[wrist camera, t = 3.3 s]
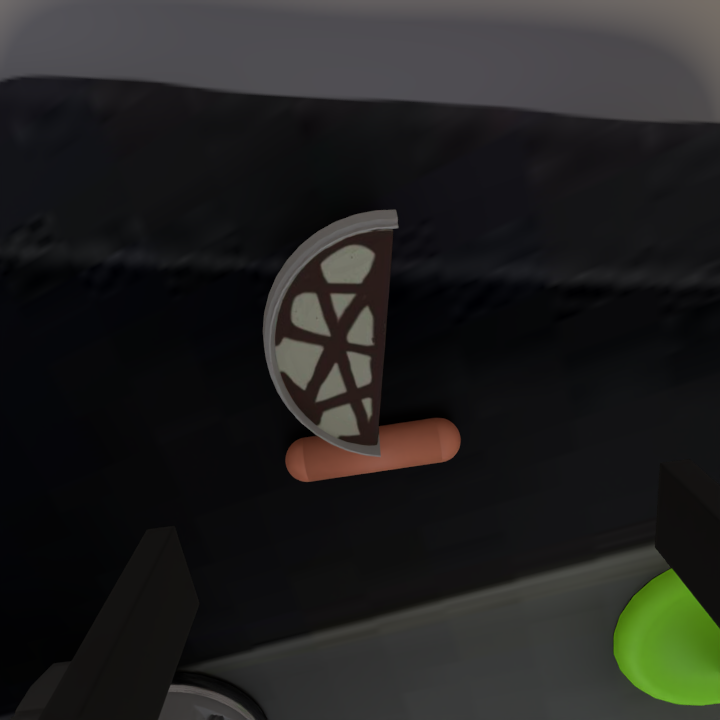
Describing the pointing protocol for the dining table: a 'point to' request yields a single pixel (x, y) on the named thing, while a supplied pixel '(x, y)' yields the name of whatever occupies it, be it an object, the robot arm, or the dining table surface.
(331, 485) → the dining table surface
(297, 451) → the sausage
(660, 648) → the wineglass
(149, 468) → the dining table surface
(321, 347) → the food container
